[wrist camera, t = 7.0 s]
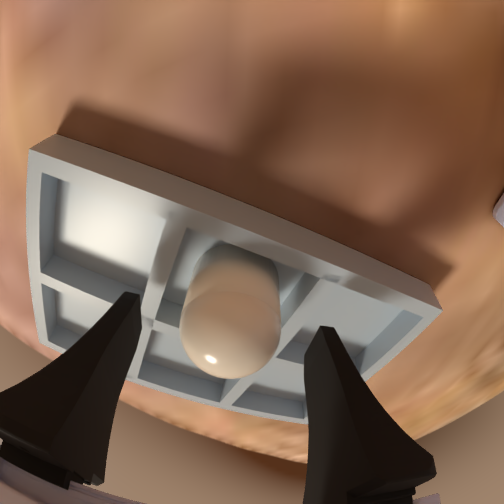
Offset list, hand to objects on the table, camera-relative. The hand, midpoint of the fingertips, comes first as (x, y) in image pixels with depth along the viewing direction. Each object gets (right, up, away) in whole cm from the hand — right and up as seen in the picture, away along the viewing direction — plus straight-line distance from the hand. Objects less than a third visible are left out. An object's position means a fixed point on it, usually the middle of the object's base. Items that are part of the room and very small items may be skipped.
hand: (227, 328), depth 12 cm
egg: (0, +2, +2) cm, 3 cm away
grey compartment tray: (-1, 0, +5) cm, 5 cm away
